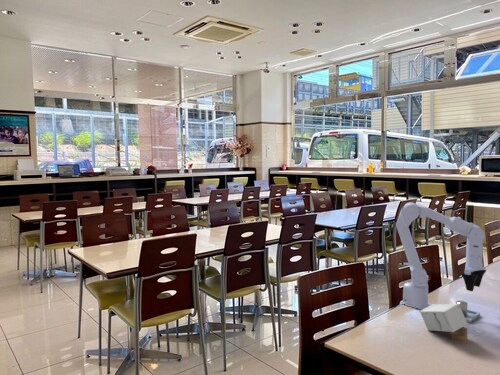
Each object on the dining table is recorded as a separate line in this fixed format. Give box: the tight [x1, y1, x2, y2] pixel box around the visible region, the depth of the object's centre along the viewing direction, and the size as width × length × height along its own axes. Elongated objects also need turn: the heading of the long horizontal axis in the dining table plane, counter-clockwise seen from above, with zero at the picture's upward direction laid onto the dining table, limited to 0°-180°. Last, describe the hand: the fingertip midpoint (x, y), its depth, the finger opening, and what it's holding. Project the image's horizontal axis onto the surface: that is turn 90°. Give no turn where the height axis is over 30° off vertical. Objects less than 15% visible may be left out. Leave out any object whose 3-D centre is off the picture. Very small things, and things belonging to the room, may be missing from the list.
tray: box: [465, 308, 481, 324], centre depth 151 cm, size 11×11×1 cm
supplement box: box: [419, 303, 469, 333], centre depth 135 cm, size 7×7×13 cm
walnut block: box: [451, 326, 468, 344], centre depth 131 cm, size 4×4×4 cm
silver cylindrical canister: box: [455, 300, 468, 317], centre depth 151 cm, size 4×4×5 cm
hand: (473, 288), depth 153 cm, fingers open, 7 cm apart
